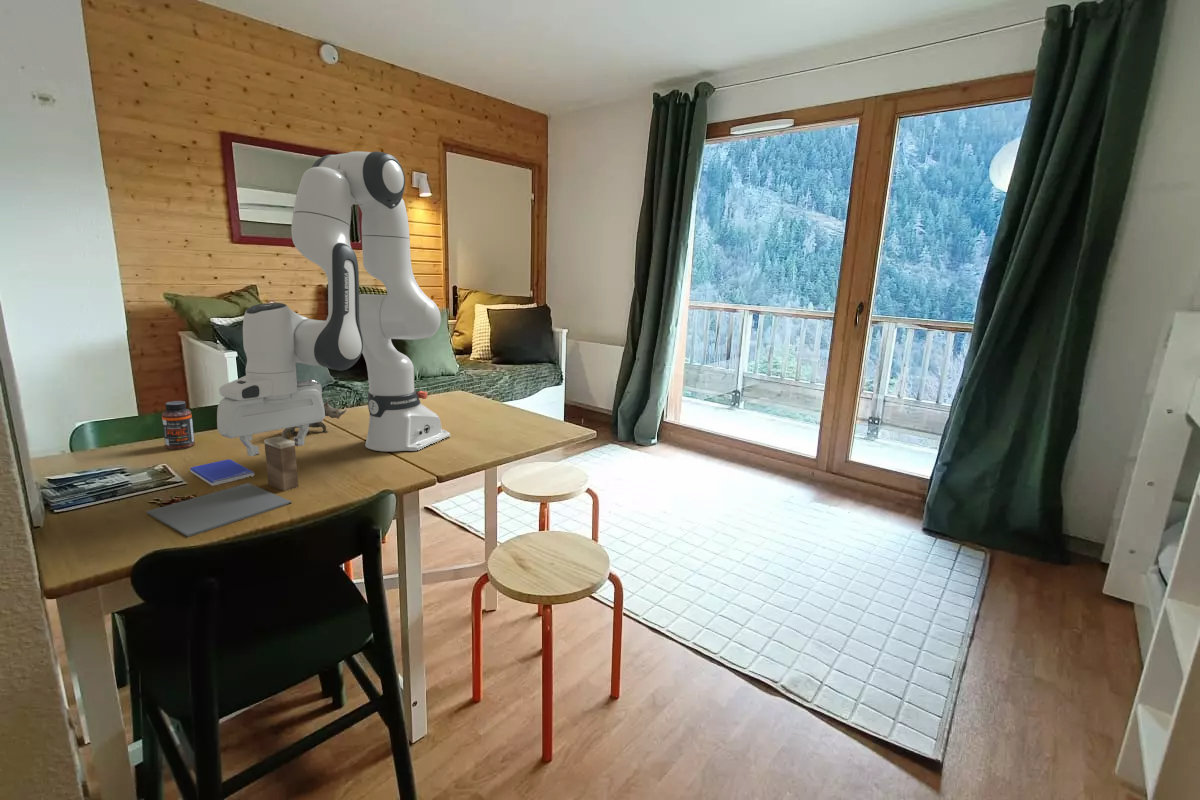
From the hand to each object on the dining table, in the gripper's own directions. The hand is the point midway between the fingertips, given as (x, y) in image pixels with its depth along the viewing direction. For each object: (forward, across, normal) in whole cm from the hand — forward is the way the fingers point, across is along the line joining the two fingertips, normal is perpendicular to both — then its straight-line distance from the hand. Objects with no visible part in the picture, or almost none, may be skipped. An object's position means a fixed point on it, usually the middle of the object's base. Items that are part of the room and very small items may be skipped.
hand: (277, 450), depth 117 cm
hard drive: (+9, +3, -17) cm, 20 cm away
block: (+8, -1, 0) cm, 8 cm away
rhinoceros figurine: (+7, -26, -32) cm, 42 cm away
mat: (+8, +12, +2) cm, 15 cm away
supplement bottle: (+8, 0, -44) cm, 45 cm away
